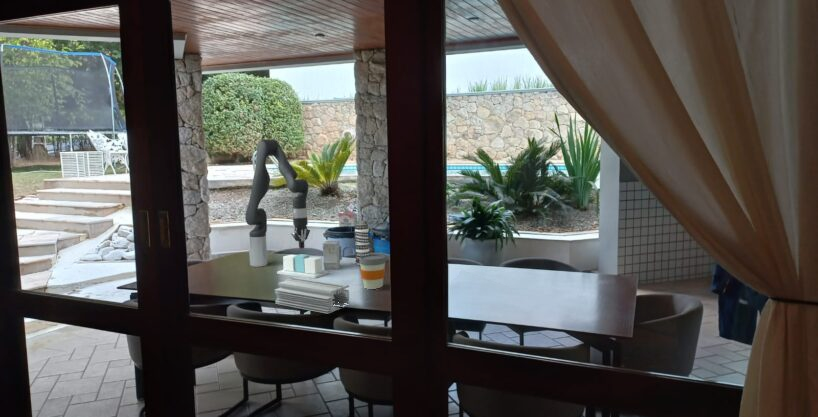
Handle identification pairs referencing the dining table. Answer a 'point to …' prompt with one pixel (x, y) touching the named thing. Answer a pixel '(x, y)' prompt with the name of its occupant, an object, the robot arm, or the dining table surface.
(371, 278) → the reusable coffee cup
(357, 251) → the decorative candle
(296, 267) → the block
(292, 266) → the rail panel
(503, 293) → the dining table surface
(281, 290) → the aluminum extrusion profile
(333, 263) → the circuit breaker
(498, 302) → the dining table surface
